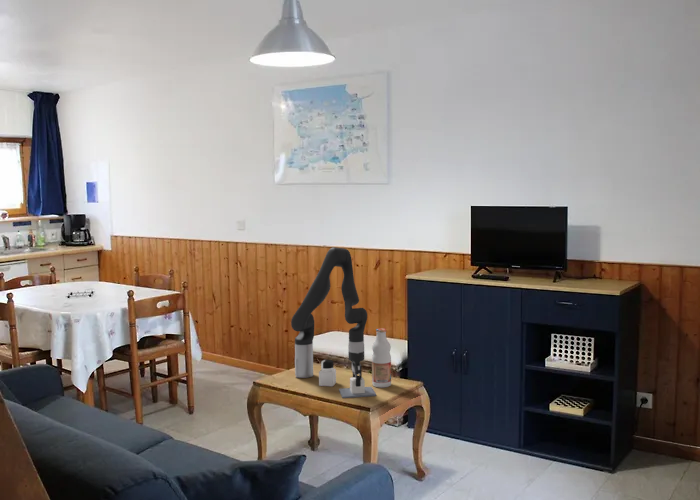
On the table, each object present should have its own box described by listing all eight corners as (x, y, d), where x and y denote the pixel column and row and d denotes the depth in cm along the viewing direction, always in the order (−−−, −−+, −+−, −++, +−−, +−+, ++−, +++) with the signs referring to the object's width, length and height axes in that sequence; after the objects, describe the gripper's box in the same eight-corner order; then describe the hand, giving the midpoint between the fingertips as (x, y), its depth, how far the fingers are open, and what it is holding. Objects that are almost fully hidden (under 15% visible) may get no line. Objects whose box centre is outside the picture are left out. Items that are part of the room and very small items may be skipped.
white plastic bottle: (368, 384, 321) (367, 328, 319) (383, 381, 327) (383, 326, 324) (379, 389, 314) (379, 332, 311) (395, 385, 319) (394, 329, 316)
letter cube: (364, 392, 306) (364, 380, 305) (352, 393, 305) (351, 381, 304) (362, 389, 311) (362, 376, 311) (350, 389, 311) (349, 377, 310)
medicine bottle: (336, 382, 326) (335, 358, 324) (333, 386, 319) (332, 362, 317) (322, 381, 327) (322, 358, 326) (318, 385, 320) (318, 362, 319)
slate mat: (342, 398, 301) (342, 396, 301) (338, 390, 313) (338, 388, 313) (376, 395, 303) (376, 394, 303) (371, 388, 315) (371, 386, 315)
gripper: (346, 346, 312) (346, 379, 314) (350, 354, 298) (351, 388, 300) (361, 346, 313) (361, 378, 315) (366, 353, 299) (367, 387, 301)
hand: (356, 383), depth 308 cm, fingers open, 8 cm apart
